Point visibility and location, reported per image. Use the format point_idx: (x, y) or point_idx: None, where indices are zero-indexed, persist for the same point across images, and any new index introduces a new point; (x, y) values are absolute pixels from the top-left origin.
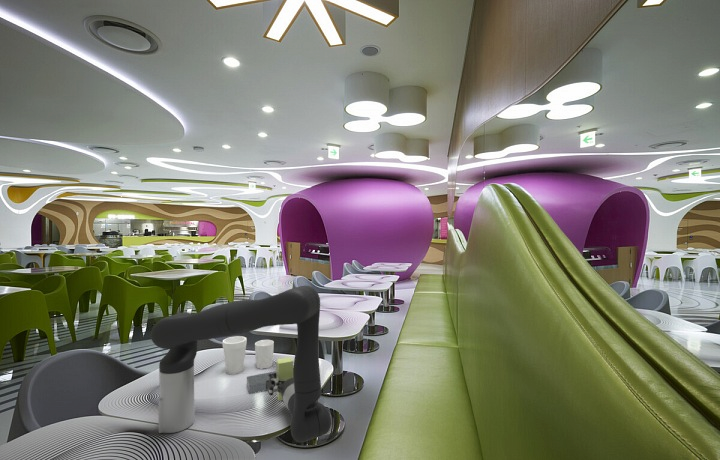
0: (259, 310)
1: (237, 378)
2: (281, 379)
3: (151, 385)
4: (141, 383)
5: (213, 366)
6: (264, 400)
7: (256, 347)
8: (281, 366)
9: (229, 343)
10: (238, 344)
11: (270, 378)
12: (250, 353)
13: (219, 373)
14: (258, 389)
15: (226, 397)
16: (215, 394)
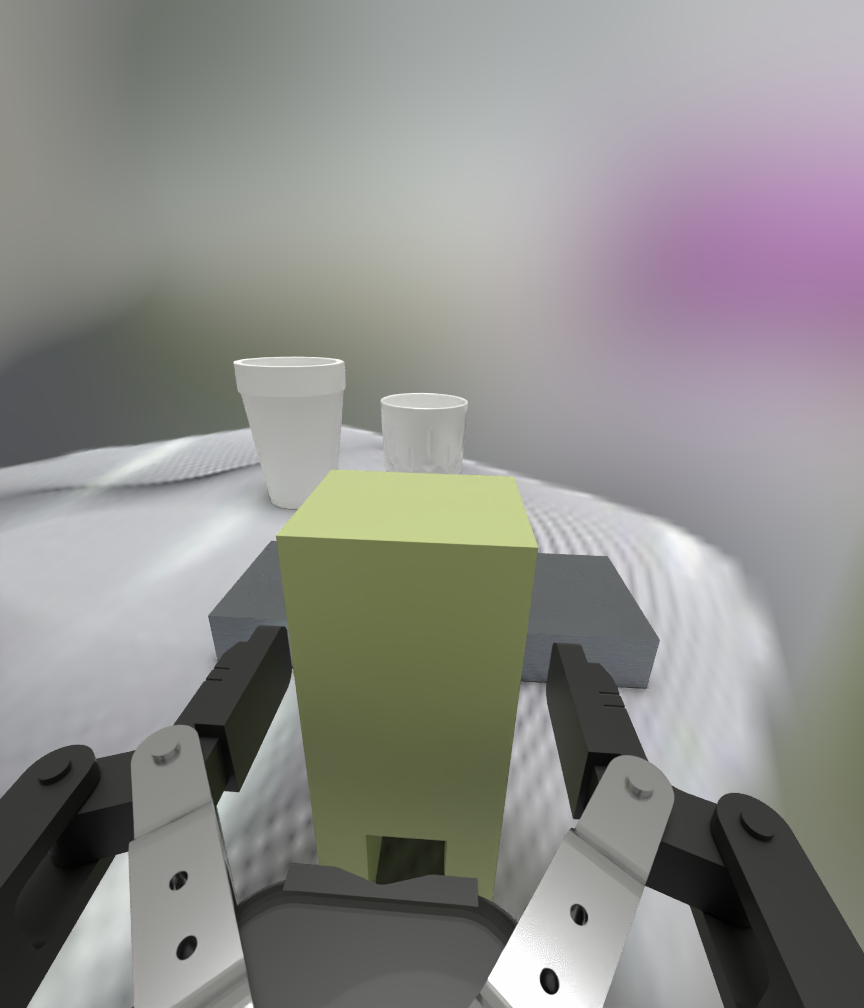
0: None
1: (277, 532)
2: (202, 904)
3: (23, 484)
4: (20, 471)
5: None
6: (233, 804)
7: (383, 413)
8: (327, 588)
9: (246, 365)
10: (284, 376)
11: (200, 691)
12: None
13: (247, 493)
14: None
15: (93, 642)
16: (90, 597)
